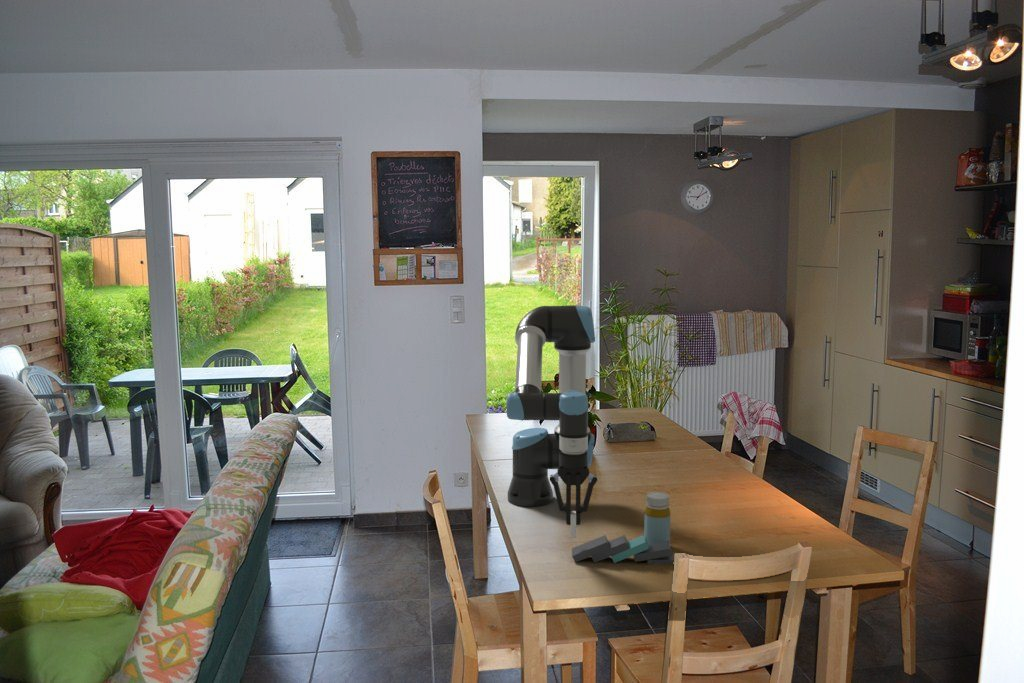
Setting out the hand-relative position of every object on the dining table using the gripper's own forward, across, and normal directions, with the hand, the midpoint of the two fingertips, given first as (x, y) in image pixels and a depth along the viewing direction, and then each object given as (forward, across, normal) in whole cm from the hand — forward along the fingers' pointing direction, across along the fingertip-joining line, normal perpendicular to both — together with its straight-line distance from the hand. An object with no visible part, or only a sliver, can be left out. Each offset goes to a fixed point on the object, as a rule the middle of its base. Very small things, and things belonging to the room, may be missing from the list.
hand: (573, 535), depth 206 cm
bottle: (+7, +24, +9) cm, 26 cm away
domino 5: (+6, +20, 0) cm, 21 cm away
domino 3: (+6, +10, 0) cm, 12 cm away
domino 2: (+6, +5, 0) cm, 8 cm away
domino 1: (+6, 0, 0) cm, 6 cm away
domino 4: (+5, +16, 0) cm, 17 cm away
